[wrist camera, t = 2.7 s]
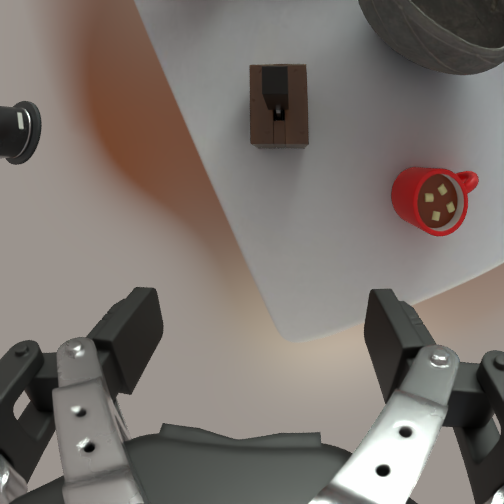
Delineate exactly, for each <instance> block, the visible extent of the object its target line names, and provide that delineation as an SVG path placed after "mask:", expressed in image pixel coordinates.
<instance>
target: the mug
mask: <svg viewBox="0 0 504 504" xmlns="http://www.w3.org/2000/svg"><path fill="white" fill-rule="evenodd" d="M478 182H479V179H478V176H477V174H476V173H474V172H472V171H464V172H459V173H456V174H455V173H453V172H452V171H450V170H447V169H440V168H423V167H412V168H408V169H406V170H404V171H403V172H401V173H400V174H399V175H398V177H397V178H396V180H395V181H394V184H393V187H392V192H391V198H392V204H393V207H394V209H395V211H396V213H397V214H398V215H399V216H400V218H402V219H403V220H404V221H406V222H408V223H410V224H412V225H414V226H416V227H417V228H419V229H421V230H423V231H425V232H427V233H429V234H431V235H434V236H446V235H449V234H451V233H453V232H454V231H455V230H457V229H458V228H459V227H460V225H461V224H462V222H463V221H464V219H465V216H466V213H467V209H468V196H467V194H468V193H470V192H471V191H472V190H474V189H475V187H476V186H477V184H478Z"/></svg>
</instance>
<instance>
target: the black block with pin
mask: <svg viewBox="0 0 504 504" xmlns="http://www.w3.org/2000/svg"><path fill="white" fill-rule="evenodd" d="M262 95H263V98H264V100H265V103H266V105H267V108H268V110H276V113H277V117H278V121H282V110H289V93H288V66H262Z"/></svg>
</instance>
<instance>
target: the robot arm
mask: <svg viewBox="0 0 504 504" xmlns="http://www.w3.org/2000/svg"><path fill="white" fill-rule="evenodd" d="M32 133H33V120H32V116H31V114H30V112H29V111H28V110H27V109H26V108H20V107H18V108H15V107H4V106H0V158H17V157H20V156H21V155H22V154H23V153H24V152H25V151H26V150H27V148H28V146H29V144H30V141H31V138H32ZM162 334H163V320H162V315H161V310H160V305H159V300H158V295H157V291H156V289H154V288H144V287H136V288H134V289H133V291H132V292H131V293H130V294H129V295H128V297H127V298H126V299H123V300H121V301H119V302H118V303H116V304H114V305H113V306H112V307H111V309H110V310H109V311H108V312H107V314H105V315H104V317H103V318H102V320H100V321H99V322H98V324H97V325H96V326H95V327H94V328H93V330H92V331H91V332H90V333H89V334H88V335H87V337H86V338H85V337H78V338H74V339H70V340H68V341H66V342H65V343H63V344H62V345H61V346H60V347H59V348H58V350H57V352H56V353H42V352H41V350H40V347H39V345H38V343H37V342H35V341H32V340H27V341H22V342H19V343H17V344H15V345H14V346H13V347H12V348H10V349H9V351H8V352H7V353H6V354H5V355H4V356H3V357H2V358H1V359H0V504H417V503H416V502H415V501H414V500H412V499H411V498H410V497H409V495H410V493H411V491H412V489H413V488H414V485H415V484H416V482H417V480H418V478H419V476H420V474H421V472H422V470H423V468H424V466H425V464H426V462H427V460H428V457H429V455H430V453H431V450H432V449H433V446H434V444H435V442H436V439H437V437H438V434H439V432H440V429H441V427H442V426H446V427H453V429H454V432H455V435H456V438H457V441H458V444H459V447H460V450H461V454H462V457H463V460H464V463H465V467H466V470H467V474H468V477H469V481H470V484H471V488H472V492H473V495H474V500H475V504H504V352H502V351H497V350H493V351H489V352H487V353H485V355H484V356H483V358H482V361H481V363H480V364H477V363H465V362H460V360H459V357H458V355H457V354H456V353H455V352H454V351H453V350H451V349H450V348H448V347H445V346H442V345H437V344H436V343H435V341H434V339H433V338H432V336H431V335H430V333H429V331H428V330H427V328H426V327H425V325H423V322H422V320H421V319H420V318H419V316H418V314H417V313H416V311H415V310H414V308H413V307H411V306H410V305H409V304H407V303H406V302H404V301H399V300H398V299H397V297H396V296H395V294H394V292H393V291H392V289H372V290H371V291H370V294H369V300H368V306H367V313H366V319H365V325H364V338H365V343H366V345H367V348H368V351H369V354H370V357H371V360H372V363H373V366H374V369H375V372H376V375H377V379H378V381H379V384H380V388H381V391H382V394H383V398H384V401H385V404H386V405H385V407H384V409H383V410H382V412H381V413H380V415H379V416H378V418H377V419H376V421H375V422H374V424H373V425H372V427H371V429H370V430H369V431H368V433H367V434H366V436H365V437H364V439H363V440H362V442H361V443H360V444H359V446H358V447H357V449H356V450H355V451H354V453H351V452H348V451H346V450H344V449H341V448H339V447H336V446H332V445H328V444H323V443H321V435H320V432H315V433H278V434H273V435H267V436H261V437H255V438H248V439H240V440H238V439H233V438H229V437H226V436H222V435H219V434H216V433H213V432H210V431H206V430H203V429H200V428H193V427H186V426H179V425H172V424H165V423H163V424H162V427H161V430H160V432H159V433H158V434H149V435H144V436H140V437H137V438H134V439H132V438H131V436H130V433H129V430H128V428H127V425H126V423H125V420H124V417H123V414H122V412H121V409H120V406H119V403H118V401H117V399H116V396H117V395H118V393H124V394H129V395H131V394H132V392H133V390H134V388H135V386H136V384H137V382H138V381H139V379H140V377H141V375H142V373H143V371H144V369H145V367H146V366H147V364H148V362H149V360H150V358H151V356H152V354H153V353H154V351H155V349H156V347H157V345H158V343H159V341H160V340H161V338H162ZM24 390H25V392H26V394H27V396H28V397H29V399H30V400H31V401H30V403H29V404H28V405H27V407H26V408H25V410H24V411H23V413H22V415H21V416H20V417H19V419H18V420H17V419H16V418H15V416H14V413H13V407H14V404H15V402H16V400H17V399H18V397H19V396H20V395H21V394H22V392H23V391H24ZM494 413H495V414H496V416H497V419H498V420H499V423H500V426H501V435H500V434H499V432H498V430H497V427H496V425H495V423H494V421H493V418H492V417H493V415H494ZM55 430H56V433H57V440H58V446H59V452H60V457H61V463H62V468H63V473H64V475H63V476H61V477H59V478H58V479H55V480H53V481H52V482H50V483H47V484H45V485H43V486H41V487H39V488H37V489H35V490H33V491H30V492H28V493H27V483H28V482H29V479H30V477H31V475H32V473H33V471H34V469H35V467H36V466H37V464H38V462H39V460H40V457H41V456H42V454H43V452H44V450H45V448H46V446H47V445H48V442H49V441H50V439H51V437H52V435H53V433H54V432H55Z"/></svg>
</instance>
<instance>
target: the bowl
mask: <svg viewBox="0 0 504 504" xmlns="http://www.w3.org/2000/svg"><path fill="white" fill-rule="evenodd" d="M358 1H359V5H360V7H361V9H362V11H363V13H364V15H365V17H366V19H367V21H368V22H369V24H370V25H371V27H372V28H373V29H374V31H375V32H376V33H377V34H378V36H379V37H380V38H381V39H382V40H383V41H384V42H385V43H386V44H387V45H389V46H390V47H391V48H392V49H393V50H395V51H396V52H397V53H399V54H400V55H402V56H404V57H405V58H407V59H409V60H410V61H412V62H414V63H416V64H418V65H420V66H423V67H425V68H428V69H431V70H434V71H437V72H442V73H447V74H454V75H471V74H478V73H481V72H484V71H487V70H489V69H492V68H494V67H496V66H498V65H499V64H501V63H502V62H503V61H504V0H358Z"/></svg>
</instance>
